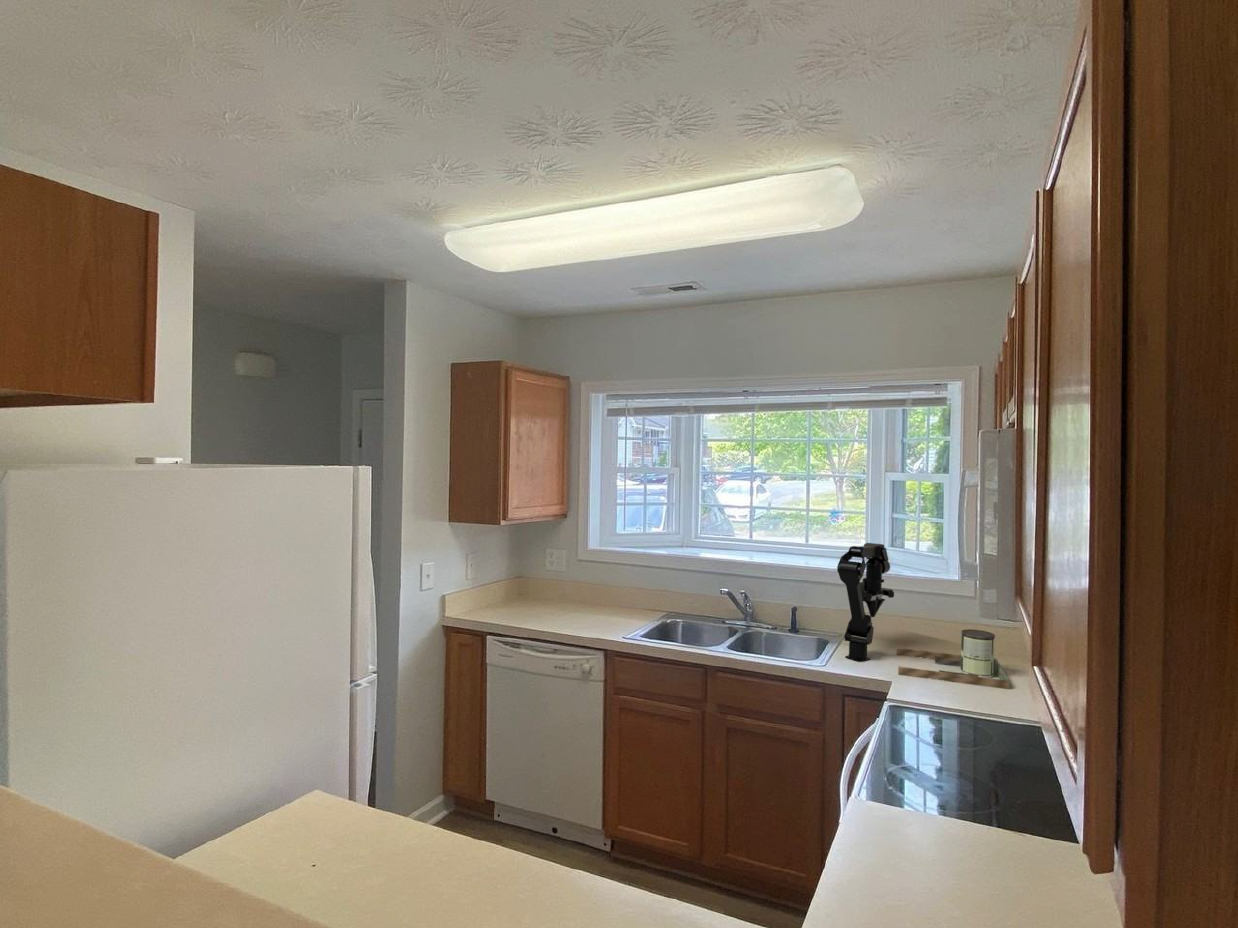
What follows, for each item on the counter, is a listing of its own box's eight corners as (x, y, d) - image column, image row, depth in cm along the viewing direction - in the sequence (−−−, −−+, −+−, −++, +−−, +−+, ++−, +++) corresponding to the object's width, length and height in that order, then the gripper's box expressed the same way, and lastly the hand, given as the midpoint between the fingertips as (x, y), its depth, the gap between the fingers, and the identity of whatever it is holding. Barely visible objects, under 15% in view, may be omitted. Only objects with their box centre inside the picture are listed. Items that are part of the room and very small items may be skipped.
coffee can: (954, 668, 241) (955, 628, 241) (982, 669, 241) (983, 629, 241) (970, 677, 231) (971, 636, 231) (1000, 678, 231) (1001, 637, 231)
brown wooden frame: (898, 674, 232) (898, 665, 232) (896, 654, 257) (896, 646, 257) (1008, 689, 220) (1008, 679, 220) (995, 666, 245) (995, 657, 245)
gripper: (870, 571, 272) (868, 610, 273) (840, 574, 262) (839, 615, 262) (895, 575, 263) (894, 615, 263) (865, 579, 253) (864, 621, 253)
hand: (872, 616), depth 261 cm, fingers closed
